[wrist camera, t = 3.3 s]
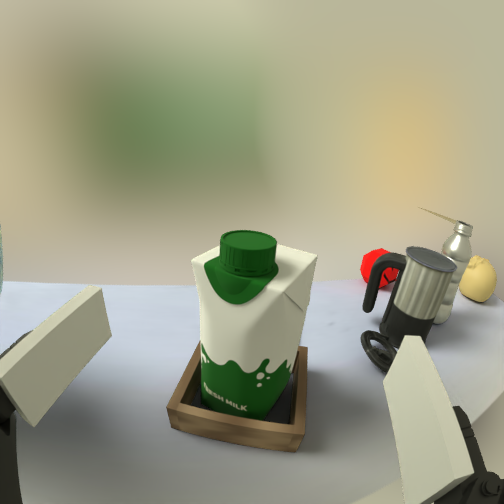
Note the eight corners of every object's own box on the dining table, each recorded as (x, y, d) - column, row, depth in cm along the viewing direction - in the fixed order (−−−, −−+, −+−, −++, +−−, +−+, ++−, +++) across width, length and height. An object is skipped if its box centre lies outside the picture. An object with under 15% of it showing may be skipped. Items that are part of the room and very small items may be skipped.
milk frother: (418, 323, 45) (445, 251, 39) (440, 381, 30) (485, 295, 25) (351, 313, 48) (372, 236, 42) (355, 375, 33) (392, 279, 28)
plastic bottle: (422, 325, 44) (457, 224, 36) (416, 307, 50) (445, 215, 42) (448, 330, 42) (485, 232, 35) (441, 312, 48) (471, 223, 41)
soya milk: (189, 405, 27) (179, 232, 20) (232, 362, 35) (243, 210, 27) (258, 441, 24) (294, 267, 16) (293, 388, 31) (331, 231, 23)
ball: (379, 295, 54) (389, 262, 52) (352, 279, 61) (360, 248, 58) (397, 286, 59) (406, 256, 56) (372, 272, 65) (379, 244, 62)
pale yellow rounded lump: (464, 283, 63) (475, 248, 59) (493, 302, 52) (507, 266, 48) (446, 288, 59) (459, 250, 55) (478, 310, 49) (494, 270, 45)
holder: (171, 427, 24) (166, 407, 22) (205, 352, 36) (205, 330, 34) (295, 452, 22) (304, 434, 21) (301, 368, 34) (307, 347, 33)
